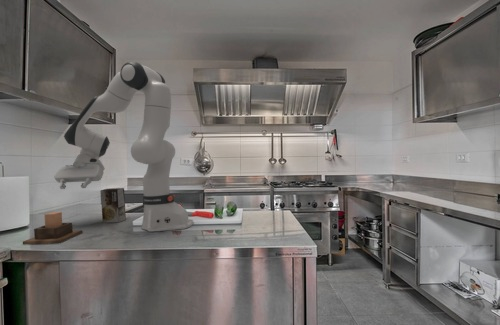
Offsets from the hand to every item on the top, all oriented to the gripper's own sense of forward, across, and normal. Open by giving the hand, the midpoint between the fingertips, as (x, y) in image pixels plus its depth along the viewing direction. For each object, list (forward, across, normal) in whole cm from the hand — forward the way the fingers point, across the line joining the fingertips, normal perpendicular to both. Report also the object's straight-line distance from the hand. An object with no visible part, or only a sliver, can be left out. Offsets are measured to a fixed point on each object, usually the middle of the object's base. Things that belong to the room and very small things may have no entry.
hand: (72, 187), depth 124 cm
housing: (+22, 0, +4) cm, 23 cm away
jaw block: (+21, 0, +4) cm, 22 cm away
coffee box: (+3, +10, +24) cm, 26 cm away
